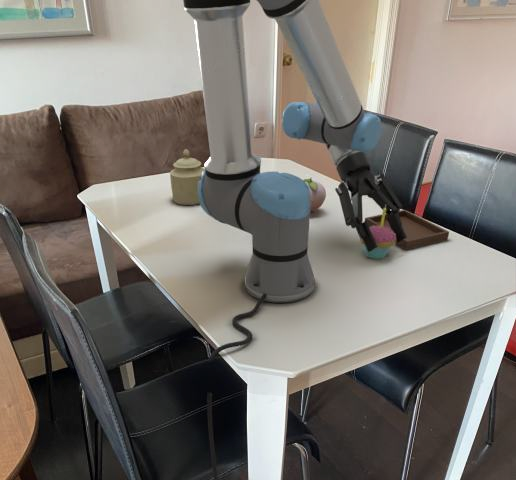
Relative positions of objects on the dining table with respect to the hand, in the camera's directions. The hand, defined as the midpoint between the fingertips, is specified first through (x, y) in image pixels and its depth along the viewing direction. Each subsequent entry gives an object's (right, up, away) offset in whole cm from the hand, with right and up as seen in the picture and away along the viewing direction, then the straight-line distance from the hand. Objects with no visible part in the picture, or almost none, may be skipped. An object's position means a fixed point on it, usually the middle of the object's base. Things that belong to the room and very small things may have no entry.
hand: (387, 244), depth 119 cm
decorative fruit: (-15, +15, +28) cm, 36 cm away
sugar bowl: (-50, +28, +34) cm, 67 cm away
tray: (+8, +6, +15) cm, 19 cm away
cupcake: (-2, -2, +5) cm, 5 cm away
